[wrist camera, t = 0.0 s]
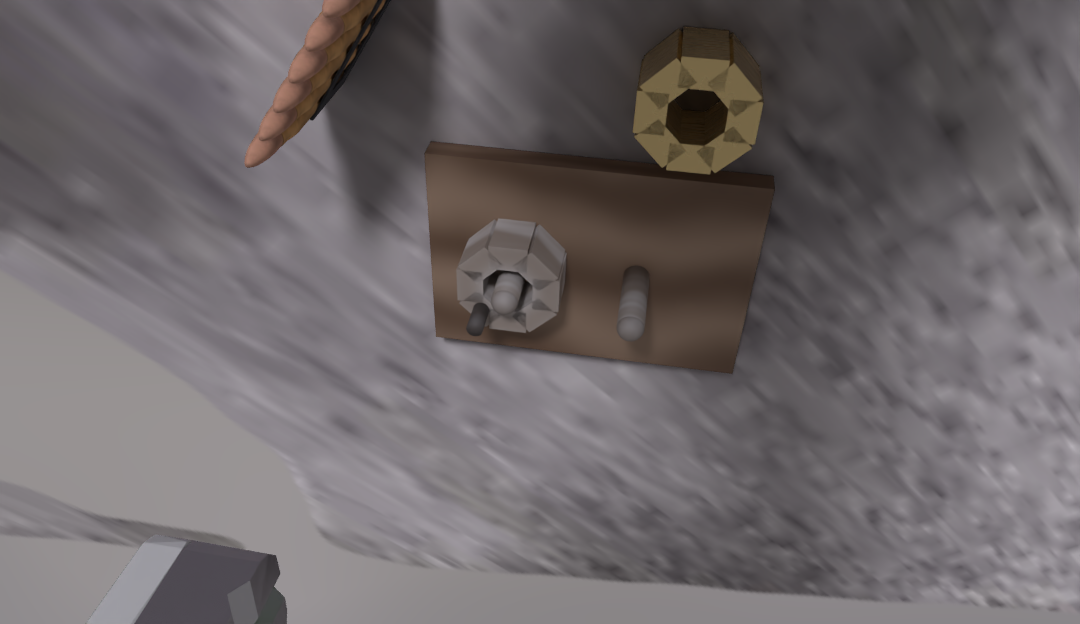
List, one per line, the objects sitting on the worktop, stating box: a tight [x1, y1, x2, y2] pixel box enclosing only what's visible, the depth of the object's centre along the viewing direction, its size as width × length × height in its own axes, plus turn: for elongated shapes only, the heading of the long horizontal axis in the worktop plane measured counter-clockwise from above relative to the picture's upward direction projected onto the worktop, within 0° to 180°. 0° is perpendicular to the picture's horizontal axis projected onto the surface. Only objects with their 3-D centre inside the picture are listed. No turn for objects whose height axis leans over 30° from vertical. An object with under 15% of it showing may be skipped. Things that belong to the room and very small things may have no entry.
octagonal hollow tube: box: [633, 27, 764, 174], centre depth 45 cm, size 6×6×4 cm
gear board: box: [424, 141, 775, 374], centre depth 51 cm, size 14×20×7 cm
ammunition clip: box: [245, 0, 391, 168], centre depth 42 cm, size 11×2×12 cm, turn 145°
